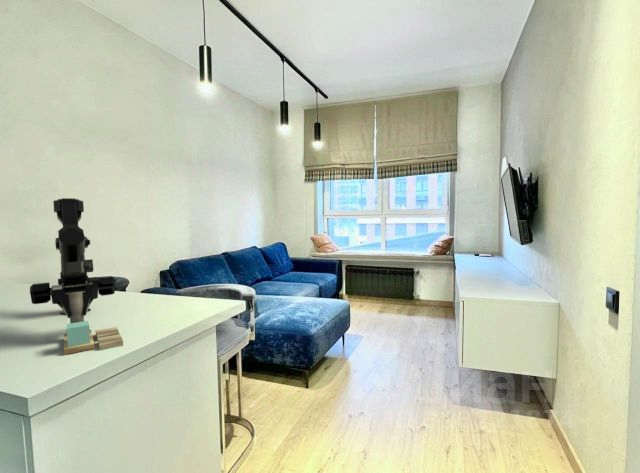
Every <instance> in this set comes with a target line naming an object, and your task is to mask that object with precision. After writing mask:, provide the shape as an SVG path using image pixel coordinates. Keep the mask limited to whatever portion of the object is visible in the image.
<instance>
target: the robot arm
mask: <svg viewBox="0 0 640 473" xmlns="http://www.w3.org/2000/svg"><path fill="white" fill-rule="evenodd" d="M52 203H53V213H55V214H56V218H57V220H58V221H59V222H60V224H61V225H62V227H61V228H60V229H59V230H58V231H57V232H58V233H57V234H58V237H55V249H56V251H59V254H60V272H59V275H60V278H57V284H54V285H51V286H50V282H49V281H48V282H40V283H39V282H37V283H32V284H31V285H30V286H29V296H30V299H31V304H33V305H39V304H47V303H49V302H50V301H51V302H52V305H57V306H58V307H59V308H60V309H62V311H60V312H59V314H61V315H66V317H67V318H68V319H70V309H69V293H73V292H82V293H83V310H84V317H85V316H86V315H87V314H88V311H91V309H92V308H90V306H91V304H92V303H93V301H94V300H95V299H98V297H99V295H100V296H101V297H102V296H110V295H115V293H116V278H115V277H114V276H112V275H111V276H110V275H109V276H99V277H97V282H94V283H92V279H90V277H89V275H88V273H93V272H94V262H93V260H94V259H93V258H92V259H86V257H85V252H86V249H88V248H89V246H90V245H91V240H90V239H89V238H88V237H87V236H85V233H84V229H82V228H81V227H80V226H79V222H80V221H81V219H82V213H84V212H85V209H84V201H83V200H80V199H78V198H67V197H63V198H62V197H61V198H58V199H56V200H53V202H52Z"/></svg>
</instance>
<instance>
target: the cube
mask: <svg viewBox="0 0 640 473" xmlns="http://www.w3.org/2000/svg"><path fill="white" fill-rule="evenodd" d="M65 326H66V334H67V344H68V347H72V346H77V345H83V344H88V343H90V331H89V330H90V323H89V320H84V321H83V322H77V323H70V322H69V323H66V325H65Z"/></svg>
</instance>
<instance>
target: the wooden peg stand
mask: <svg viewBox="0 0 640 473" xmlns="http://www.w3.org/2000/svg"><path fill="white" fill-rule="evenodd" d="M69 309H70V318H69V321H70V322H69V324H70V323H77V322H83V321H85V316H84V310H83V293H82V292H73V293H69ZM89 331H90V343H88V344H83V345H77V346H72V347H68V344H67V333H64V334H63V355H69V354H75V353H79V352H80V353H81V352H85V351H90V350H94V349H95V342H94V337H93V332H92V329H89Z"/></svg>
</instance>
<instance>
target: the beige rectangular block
mask: <svg viewBox="0 0 640 473" xmlns="http://www.w3.org/2000/svg"><path fill="white" fill-rule="evenodd" d="M95 336H96V340H97V344H98V349H99V350H100V351H101V350H102V351H103V350H107V349H112V348H117V347H121V346H124V340H123V337H122V336H121V334H120V331H119V328H118V327H117V326H115V327H114V326H113V327H109V328H103V329H97V330H95Z"/></svg>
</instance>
